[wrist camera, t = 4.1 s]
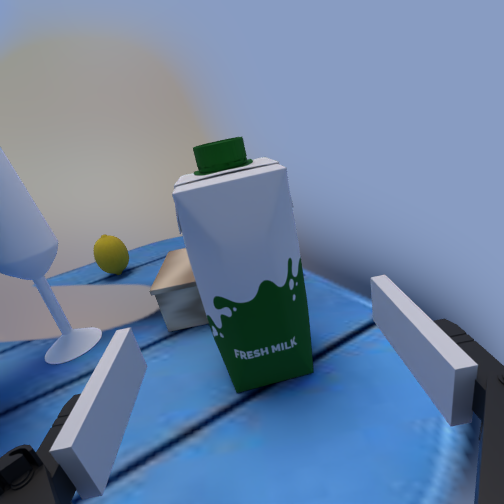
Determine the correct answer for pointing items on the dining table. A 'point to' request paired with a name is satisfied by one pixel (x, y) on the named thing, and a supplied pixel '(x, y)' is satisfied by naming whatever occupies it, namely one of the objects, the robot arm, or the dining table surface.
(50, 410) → the dining table surface
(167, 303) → the oak riser
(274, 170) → the fresh milk carton
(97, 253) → the lemon
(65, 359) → the champagne flute
